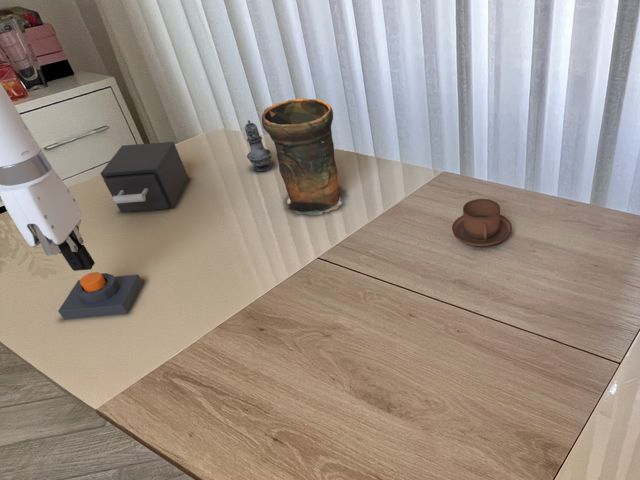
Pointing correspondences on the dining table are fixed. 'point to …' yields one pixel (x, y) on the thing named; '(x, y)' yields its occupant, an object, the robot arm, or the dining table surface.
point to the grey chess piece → (257, 150)
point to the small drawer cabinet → (152, 166)
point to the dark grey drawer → (137, 192)
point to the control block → (102, 298)
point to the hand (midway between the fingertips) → (84, 267)
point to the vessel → (305, 153)
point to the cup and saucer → (481, 224)
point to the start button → (92, 281)
